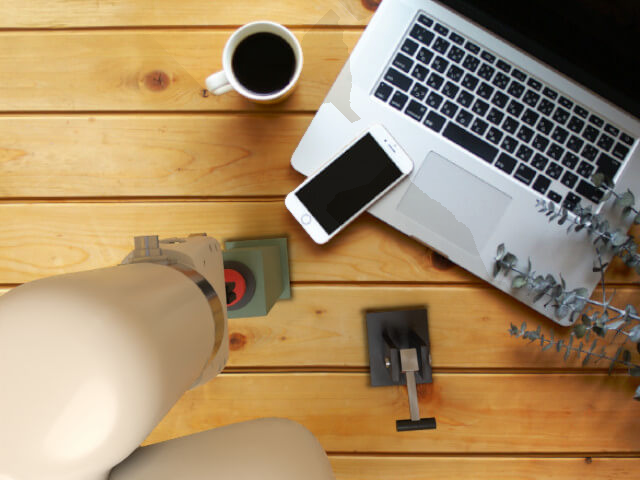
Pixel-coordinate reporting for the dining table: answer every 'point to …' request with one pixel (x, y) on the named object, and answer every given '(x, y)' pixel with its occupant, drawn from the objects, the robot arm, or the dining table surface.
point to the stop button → (239, 281)
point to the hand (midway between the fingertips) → (219, 291)
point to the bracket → (397, 345)
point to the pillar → (258, 275)
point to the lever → (412, 394)
